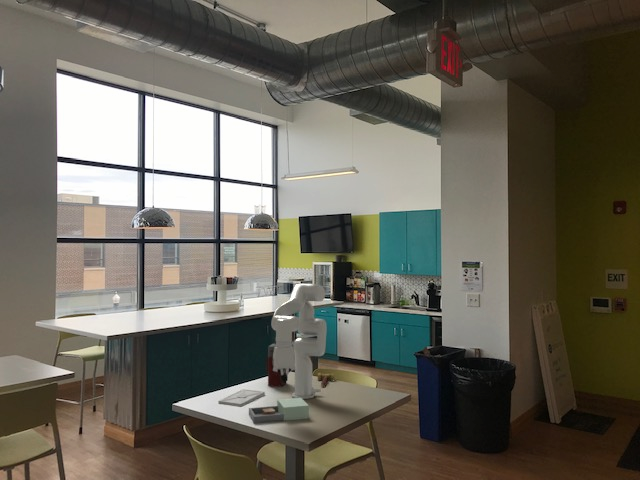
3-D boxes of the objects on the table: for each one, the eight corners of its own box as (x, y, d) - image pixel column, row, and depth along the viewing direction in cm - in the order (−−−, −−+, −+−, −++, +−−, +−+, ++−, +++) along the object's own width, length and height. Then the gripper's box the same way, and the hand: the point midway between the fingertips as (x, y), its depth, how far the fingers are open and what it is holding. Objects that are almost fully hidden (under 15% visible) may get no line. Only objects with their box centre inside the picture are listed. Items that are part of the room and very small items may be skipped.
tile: (262, 409, 246) (262, 415, 246) (265, 412, 241) (265, 418, 241) (272, 408, 248) (272, 414, 248) (275, 410, 243) (275, 417, 243)
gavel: (331, 383, 300) (313, 382, 301) (331, 390, 300) (314, 390, 301) (334, 372, 321) (318, 372, 322) (334, 380, 321) (318, 379, 322)
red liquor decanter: (268, 382, 314) (268, 335, 315) (286, 383, 312) (286, 336, 313) (264, 385, 305) (264, 337, 306) (282, 386, 303) (282, 338, 304)
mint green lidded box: (300, 409, 257) (300, 397, 257) (308, 418, 244) (308, 405, 244) (277, 412, 254) (277, 399, 254) (283, 420, 240) (283, 407, 240)
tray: (277, 412, 254) (277, 405, 254) (283, 420, 240) (283, 414, 240) (248, 414, 249) (248, 408, 249) (253, 423, 236) (253, 416, 236)
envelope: (218, 404, 268) (241, 407, 263) (218, 400, 268) (241, 403, 263) (243, 392, 290) (264, 395, 285) (243, 388, 290) (264, 391, 285)
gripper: (297, 342, 254) (297, 379, 254) (267, 343, 250) (267, 382, 250) (301, 344, 247) (301, 383, 247) (270, 346, 243) (270, 386, 243)
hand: (284, 382), depth 248 cm, fingers closed
